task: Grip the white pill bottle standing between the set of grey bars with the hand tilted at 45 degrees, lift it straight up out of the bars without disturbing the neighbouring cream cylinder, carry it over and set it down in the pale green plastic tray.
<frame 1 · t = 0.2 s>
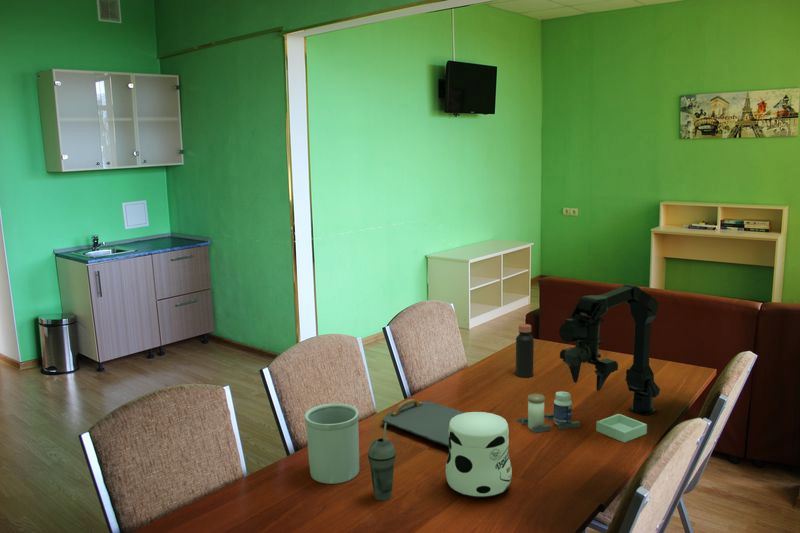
hand: (586, 386, 210), 15 cm above the table, tool pointing down, fingers open, 9 cm apart
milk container: (478, 487, 179), on the table
beverage cup: (383, 496, 176), on the table
pill bottle: (562, 423, 219), on the table
utensil holder: (334, 473, 189), on the table
tray: (621, 432, 211), on the table
serving board: (441, 431, 216), on the table
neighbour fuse: (535, 426, 217), on the table
black water bottle: (524, 375, 265), on the table
set of grey bars: (562, 422, 219), on the table
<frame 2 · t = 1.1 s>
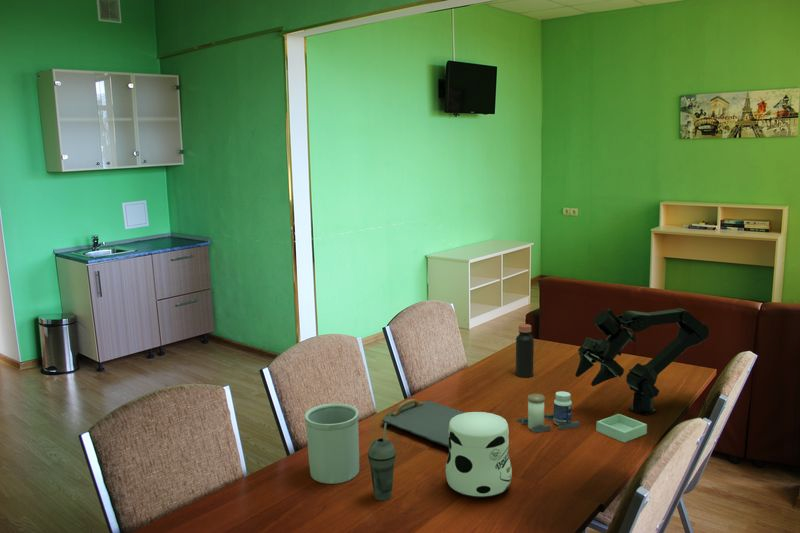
hand: (583, 380, 219), 13 cm above the table, tool tilted 45°, fingers open, 9 cm apart
nothing on the table moved.
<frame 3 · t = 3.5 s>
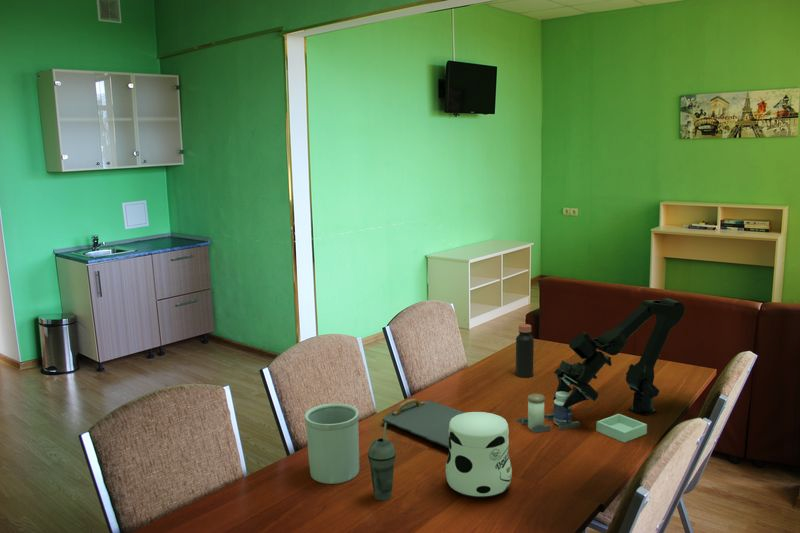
hand: (558, 404, 218), 7 cm above the table, tool tilted 45°, fingers closed on pill bottle, 6 cm apart
pill bottle: (562, 423, 219), on the table, touching gripper
everything else where it was.
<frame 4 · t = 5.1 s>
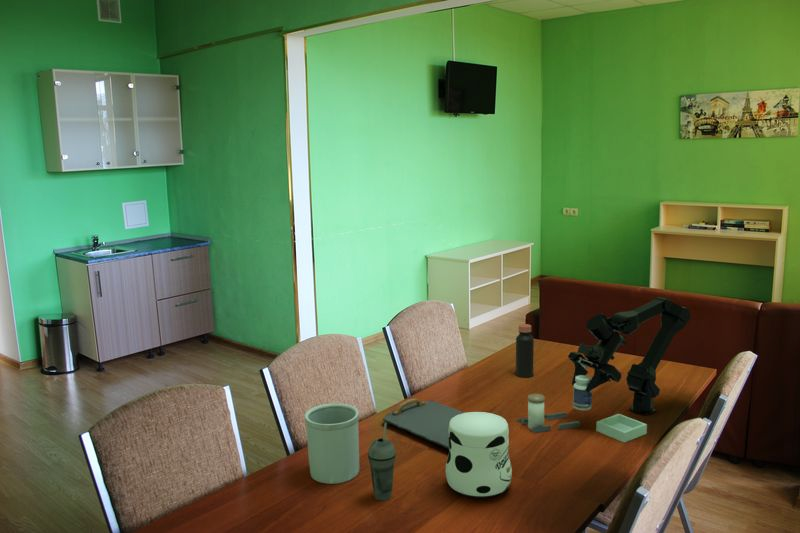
hand: (579, 388, 212), 13 cm above the table, tool tilted 45°, fingers closed on pill bottle, 6 cm apart
pill bottle: (582, 407, 214), point 7 cm above the table, touching gripper
everything else where it was.
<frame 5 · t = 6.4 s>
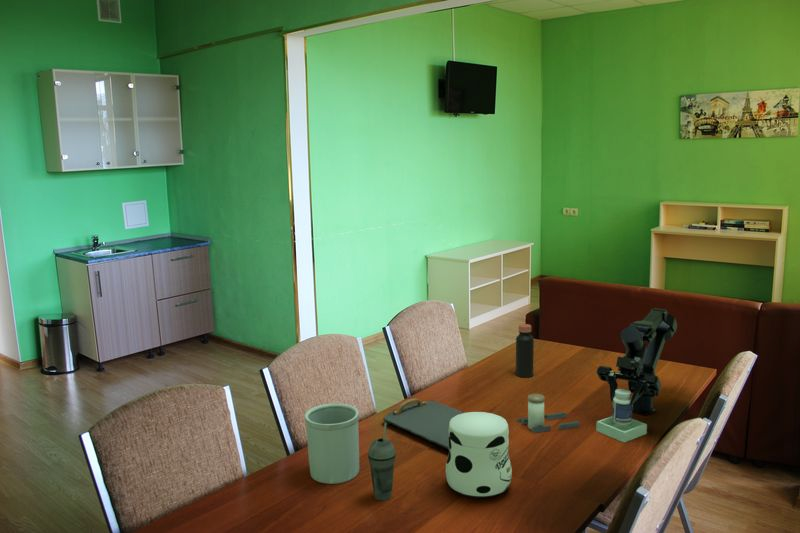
hand: (621, 402, 208), 10 cm above the table, tool tilted 45°, fingers closed on pill bottle, 6 cm apart
pill bottle: (621, 422, 211), point 3 cm above the table, touching gripper
everything else where it was.
when the fingers open (8 cm above the table, at t = 7.1 s): pill bottle drops 1 cm, resting on tray.
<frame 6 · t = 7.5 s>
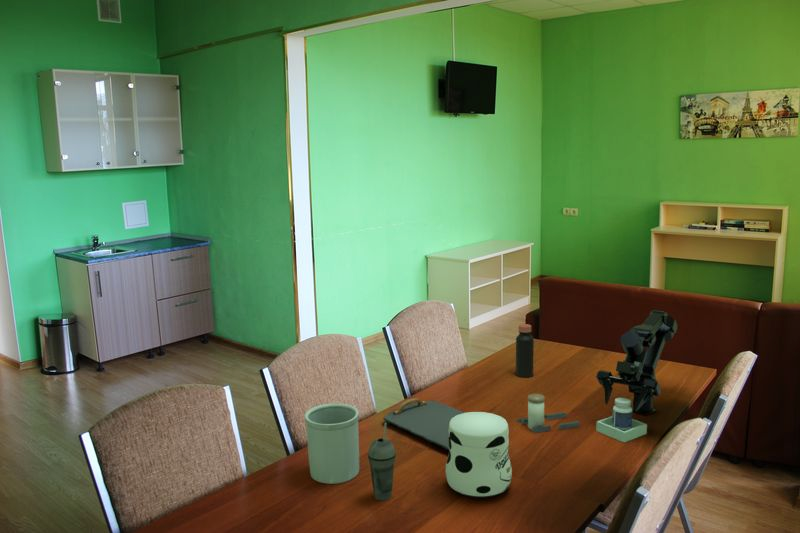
hand: (620, 407, 208), 9 cm above the table, tool tilted 45°, fingers open, 9 cm apart
pill bottle: (621, 430, 211), resting on tray
everything else where it was.
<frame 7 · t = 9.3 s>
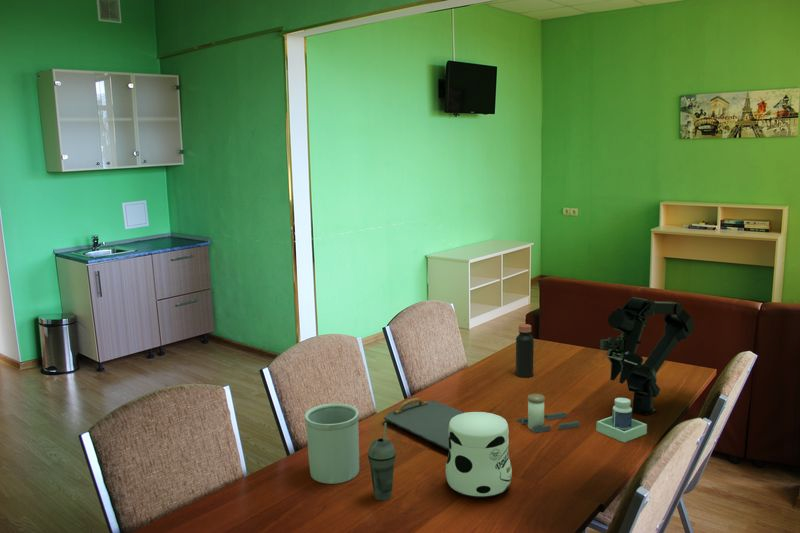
hand: (616, 381, 218), 13 cm above the table, tool tilted 25°, fingers open, 9 cm apart
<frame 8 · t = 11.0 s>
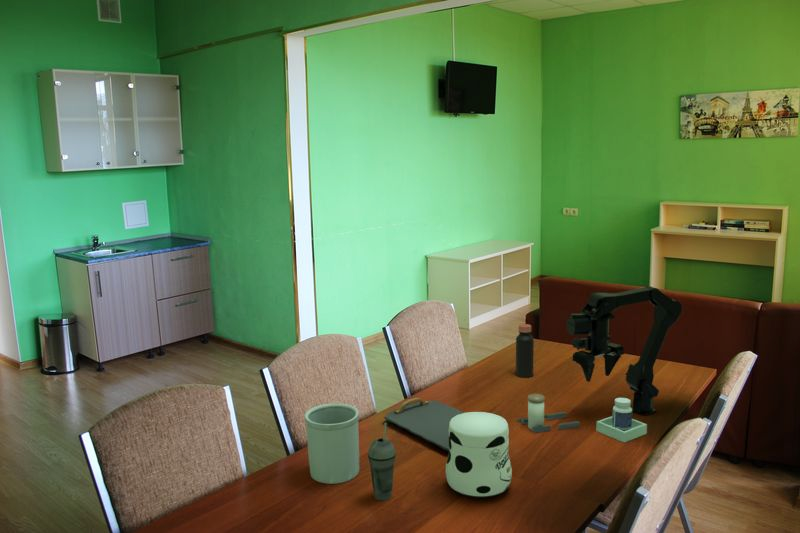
hand: (597, 378, 222), 13 cm above the table, tool pointing down, fingers open, 9 cm apart
at the end: pill bottle 0.1 cm from the tray (horizontally); pill bottle tilted 0°; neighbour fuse moved 0.0 cm from its start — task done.
